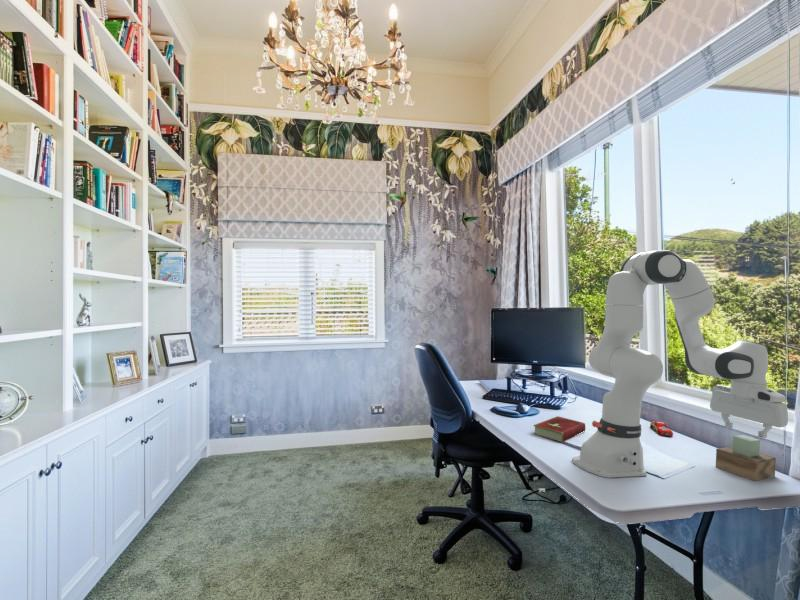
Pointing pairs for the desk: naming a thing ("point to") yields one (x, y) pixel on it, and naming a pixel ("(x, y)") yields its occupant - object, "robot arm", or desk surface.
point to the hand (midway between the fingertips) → (744, 432)
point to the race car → (661, 428)
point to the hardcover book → (559, 428)
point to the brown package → (745, 464)
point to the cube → (746, 445)
